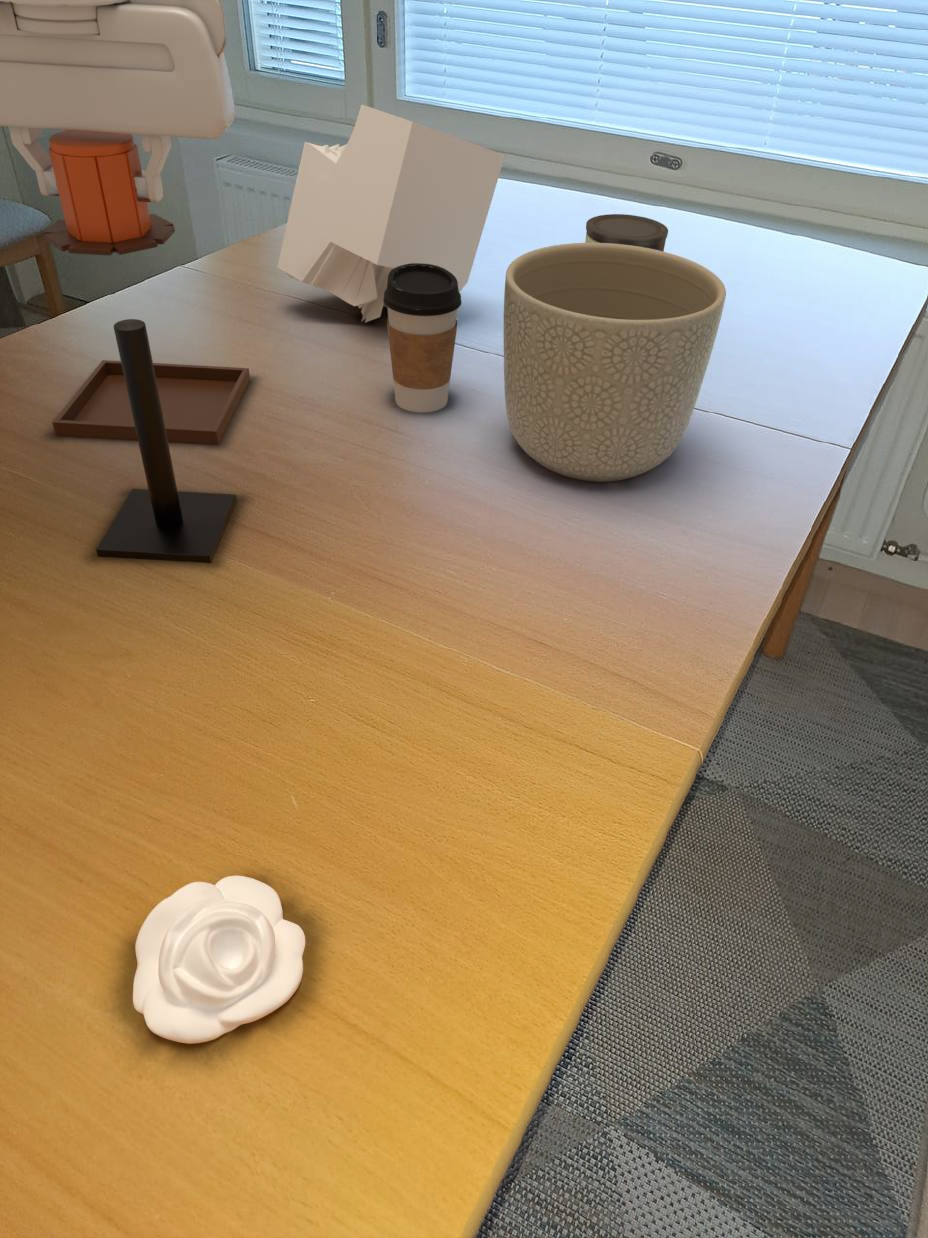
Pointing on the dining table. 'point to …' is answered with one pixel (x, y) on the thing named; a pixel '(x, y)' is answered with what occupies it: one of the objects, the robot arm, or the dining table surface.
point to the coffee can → (626, 231)
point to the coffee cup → (421, 333)
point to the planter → (605, 355)
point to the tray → (187, 396)
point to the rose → (215, 959)
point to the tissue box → (386, 207)
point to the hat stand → (159, 477)
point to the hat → (101, 196)
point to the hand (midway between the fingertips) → (102, 197)
